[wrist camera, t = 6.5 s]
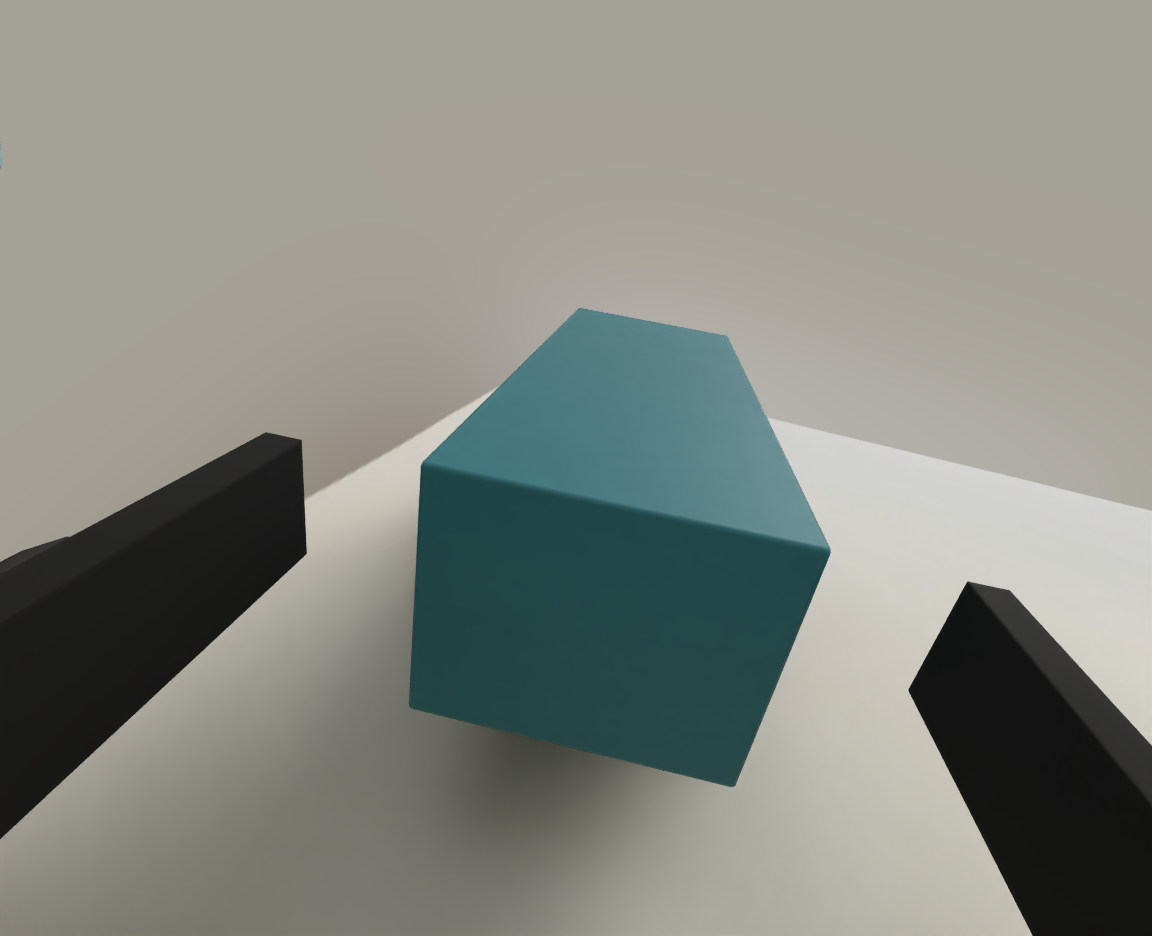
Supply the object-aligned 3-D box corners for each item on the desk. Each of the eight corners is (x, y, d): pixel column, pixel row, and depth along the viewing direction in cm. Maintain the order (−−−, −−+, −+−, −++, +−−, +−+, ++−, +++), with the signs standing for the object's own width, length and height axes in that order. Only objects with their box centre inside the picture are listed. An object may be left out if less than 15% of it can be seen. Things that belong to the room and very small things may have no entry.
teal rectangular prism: (407, 709, 10) (418, 461, 8) (560, 423, 25) (578, 307, 23) (735, 790, 10) (834, 551, 8) (696, 451, 25) (728, 335, 22)
